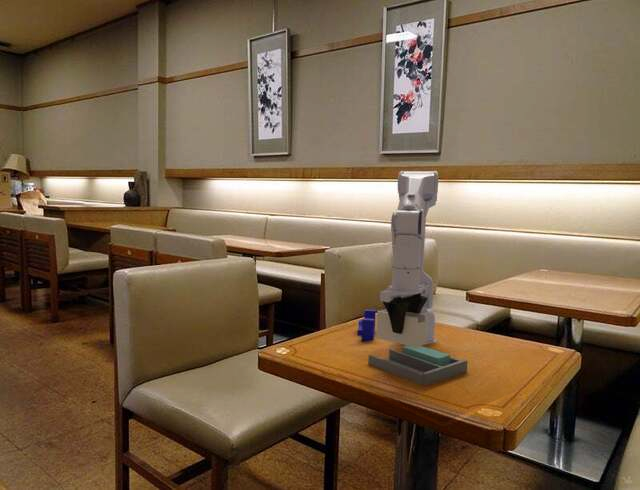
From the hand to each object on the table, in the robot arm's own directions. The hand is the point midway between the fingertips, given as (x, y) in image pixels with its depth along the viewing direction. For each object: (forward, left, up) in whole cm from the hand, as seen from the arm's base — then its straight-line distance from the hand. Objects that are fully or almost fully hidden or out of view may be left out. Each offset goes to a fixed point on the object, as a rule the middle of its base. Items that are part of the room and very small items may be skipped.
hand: (403, 330), depth 102 cm
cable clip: (-13, -25, -9) cm, 29 cm away
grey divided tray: (-3, +1, -9) cm, 10 cm away
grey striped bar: (0, -1, -2) cm, 2 cm away
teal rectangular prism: (-7, +1, -8) cm, 11 cm away
